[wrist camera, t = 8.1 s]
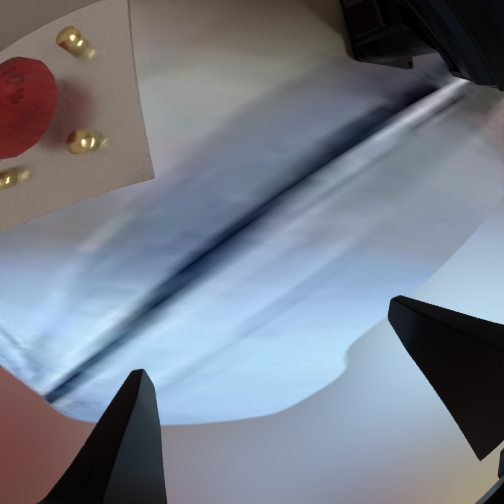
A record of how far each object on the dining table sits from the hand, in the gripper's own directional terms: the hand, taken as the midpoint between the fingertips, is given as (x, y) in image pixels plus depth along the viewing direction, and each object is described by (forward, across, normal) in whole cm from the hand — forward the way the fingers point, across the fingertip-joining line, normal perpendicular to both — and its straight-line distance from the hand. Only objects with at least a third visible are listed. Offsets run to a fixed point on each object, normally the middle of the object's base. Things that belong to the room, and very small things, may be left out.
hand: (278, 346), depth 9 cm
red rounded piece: (+11, +11, -12) cm, 19 cm away
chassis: (+12, +11, -12) cm, 20 cm away
